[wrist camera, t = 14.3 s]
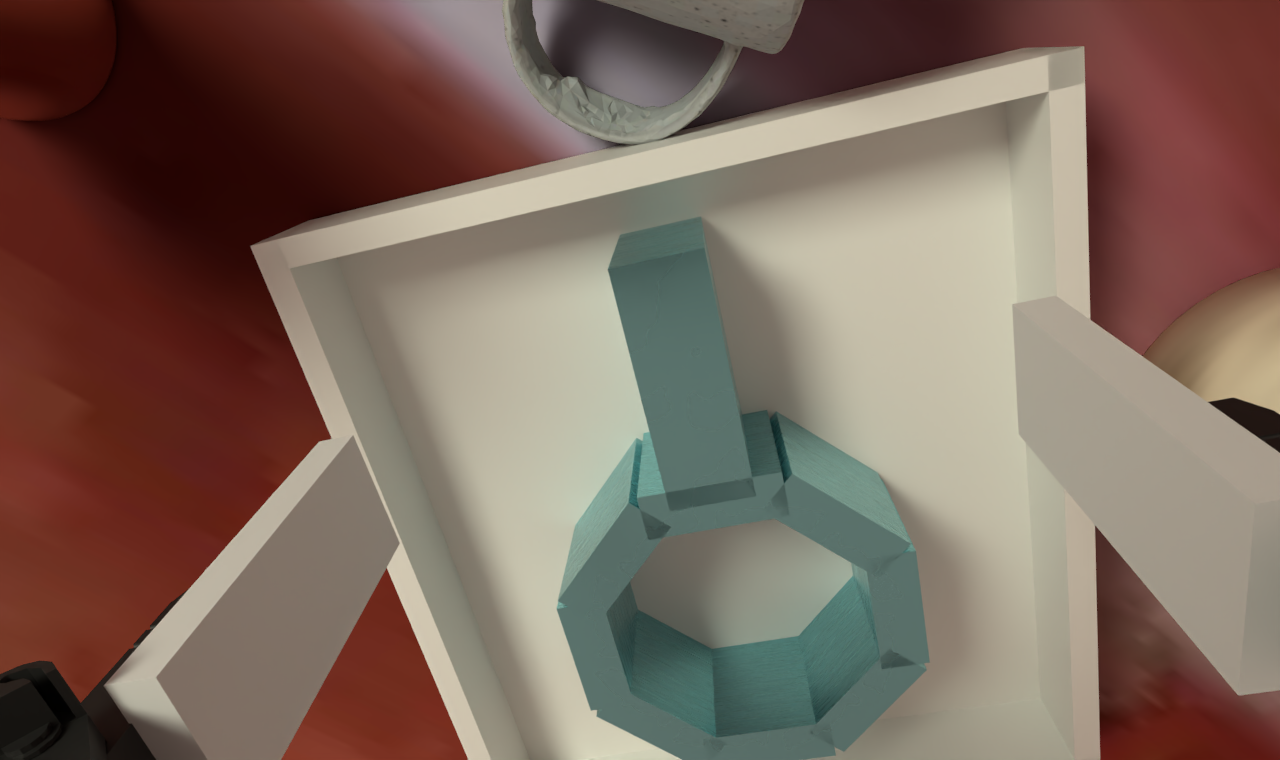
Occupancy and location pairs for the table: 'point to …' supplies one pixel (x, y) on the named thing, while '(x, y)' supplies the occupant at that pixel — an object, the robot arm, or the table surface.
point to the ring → (721, 497)
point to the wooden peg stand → (1228, 343)
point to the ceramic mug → (706, 3)
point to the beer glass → (53, 56)
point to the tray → (765, 380)
